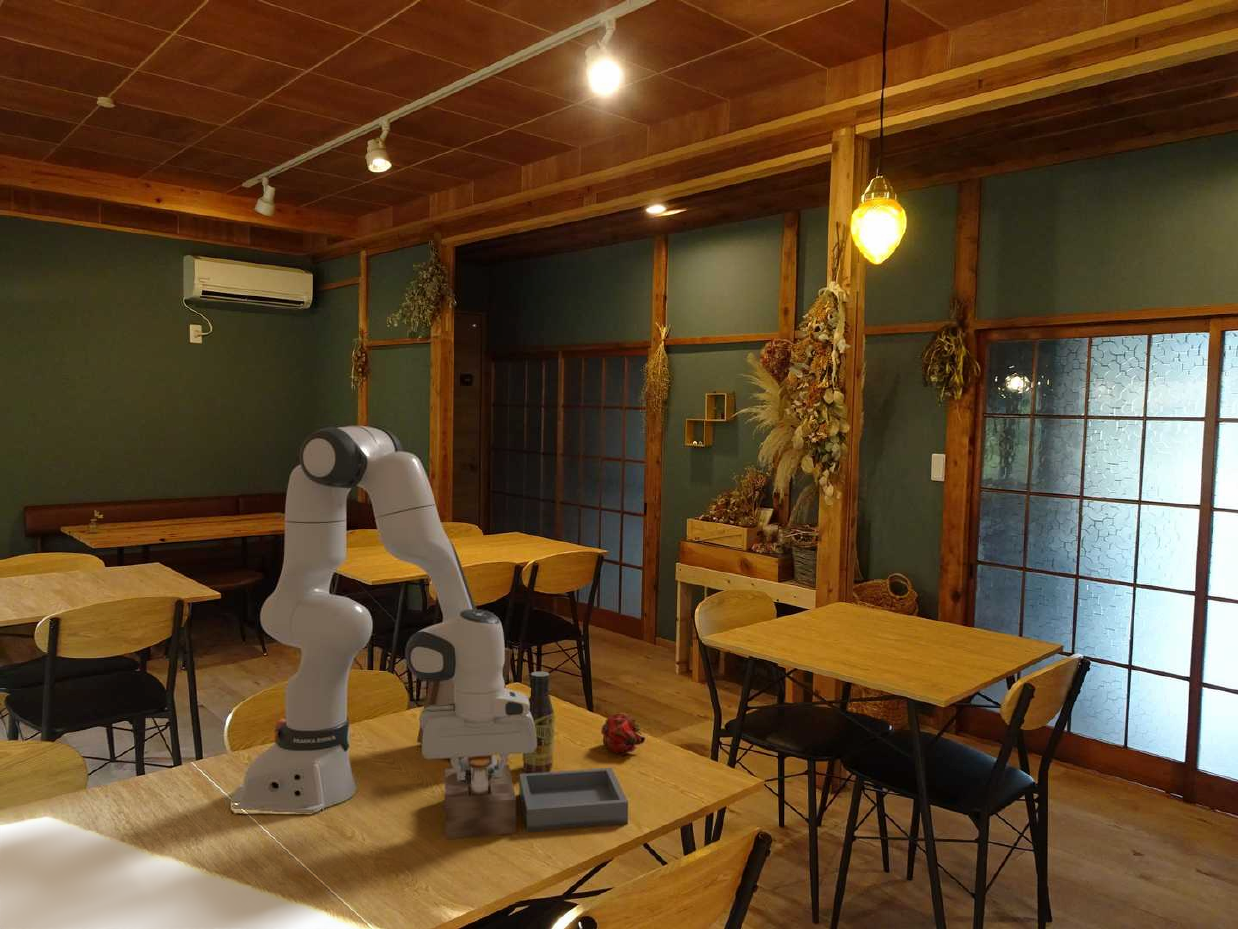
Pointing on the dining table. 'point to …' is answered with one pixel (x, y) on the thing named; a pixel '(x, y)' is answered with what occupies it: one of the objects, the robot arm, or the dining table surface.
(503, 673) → the photo frame
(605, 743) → the dragon fruit
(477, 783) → the lock pin
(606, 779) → the tray
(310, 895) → the dining table surface
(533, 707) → the sauce bottle
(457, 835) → the brown block with knob
